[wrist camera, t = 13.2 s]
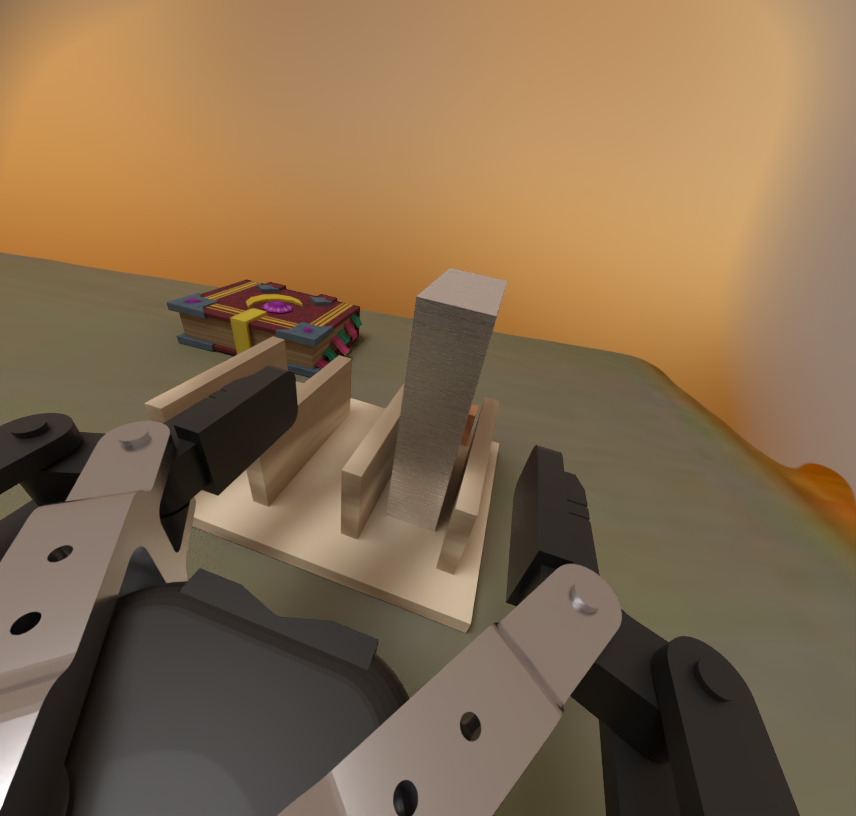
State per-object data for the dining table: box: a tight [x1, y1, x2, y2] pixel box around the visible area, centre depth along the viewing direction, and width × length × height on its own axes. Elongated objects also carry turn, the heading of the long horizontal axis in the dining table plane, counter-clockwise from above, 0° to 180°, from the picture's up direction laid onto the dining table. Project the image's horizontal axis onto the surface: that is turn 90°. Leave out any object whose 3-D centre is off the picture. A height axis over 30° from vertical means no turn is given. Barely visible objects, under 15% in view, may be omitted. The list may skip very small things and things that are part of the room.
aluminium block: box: [386, 268, 507, 532], centre depth 18 cm, size 3×6×13 cm, turn 165°
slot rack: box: [145, 336, 499, 633], centre depth 21 cm, size 20×14×6 cm
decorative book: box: [167, 280, 362, 377], centre depth 36 cm, size 11×16×5 cm
